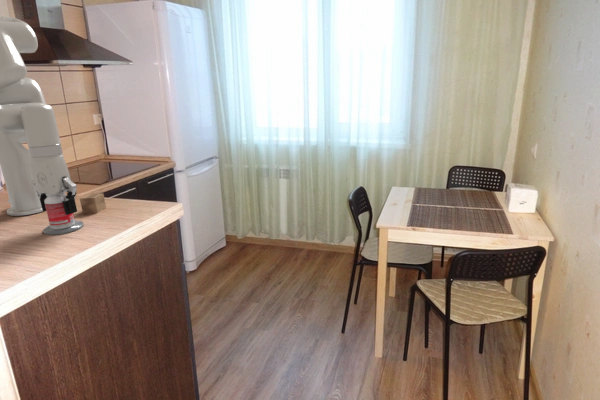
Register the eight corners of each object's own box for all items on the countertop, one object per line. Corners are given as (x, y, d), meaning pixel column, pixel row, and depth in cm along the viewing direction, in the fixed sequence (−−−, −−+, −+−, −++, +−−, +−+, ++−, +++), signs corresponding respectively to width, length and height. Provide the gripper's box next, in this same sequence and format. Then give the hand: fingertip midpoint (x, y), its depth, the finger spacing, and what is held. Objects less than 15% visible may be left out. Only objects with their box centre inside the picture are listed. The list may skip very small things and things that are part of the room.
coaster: (35, 232, 113) (35, 230, 113) (68, 220, 122) (68, 218, 121) (59, 237, 109) (58, 234, 109) (91, 224, 117) (90, 222, 117)
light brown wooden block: (82, 213, 128) (79, 198, 127) (91, 208, 133) (88, 193, 132) (97, 213, 128) (94, 198, 127) (106, 208, 133) (103, 193, 131)
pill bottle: (76, 226, 114) (67, 189, 111) (51, 231, 111) (42, 193, 108) (74, 221, 119) (66, 184, 116) (50, 225, 116) (41, 188, 113)
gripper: (12, 152, 109) (27, 212, 114) (54, 155, 102) (68, 219, 107) (39, 147, 115) (52, 204, 121) (80, 150, 108) (92, 210, 113)
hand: (59, 211), depth 114 cm, fingers open, 9 cm apart
